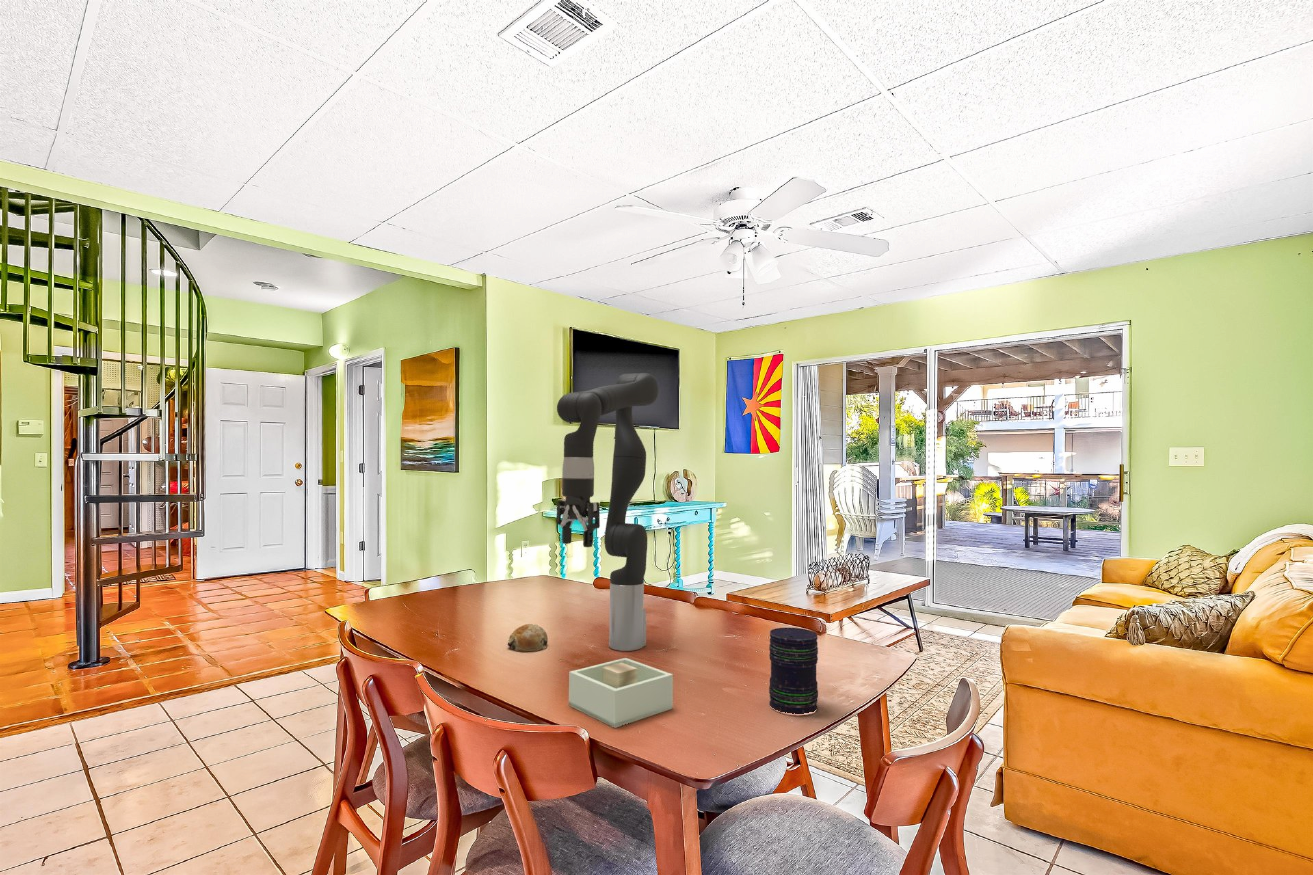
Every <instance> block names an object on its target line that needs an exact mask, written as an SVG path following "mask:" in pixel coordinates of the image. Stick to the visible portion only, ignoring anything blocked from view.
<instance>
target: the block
mask: <svg viewBox="0 0 1313 875" xmlns="http://www.w3.org/2000/svg"><path fill="white" fill-rule="evenodd" d="M603 683H604V684H606V685H609V686H611V687H613V688H616V689H617V688H620V687H624V686H627V685H631V684H634V683H637V668H635V667H632V666H629V665H627V664H624V663H618V664H614V665H611V666H607V667H603Z"/></svg>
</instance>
